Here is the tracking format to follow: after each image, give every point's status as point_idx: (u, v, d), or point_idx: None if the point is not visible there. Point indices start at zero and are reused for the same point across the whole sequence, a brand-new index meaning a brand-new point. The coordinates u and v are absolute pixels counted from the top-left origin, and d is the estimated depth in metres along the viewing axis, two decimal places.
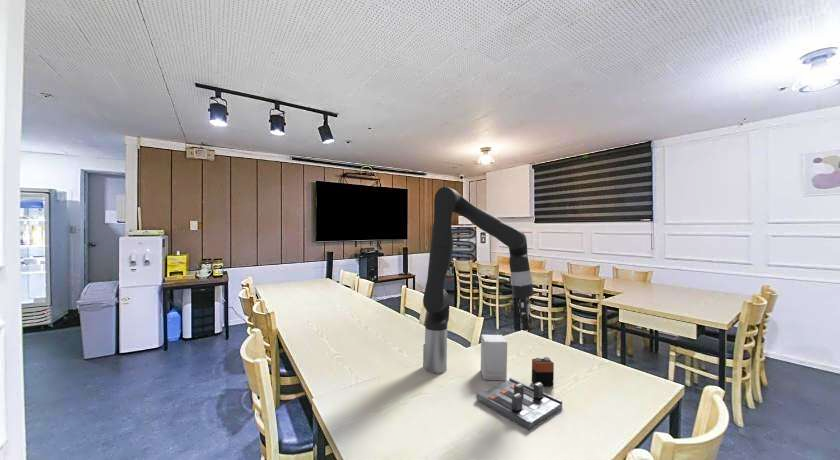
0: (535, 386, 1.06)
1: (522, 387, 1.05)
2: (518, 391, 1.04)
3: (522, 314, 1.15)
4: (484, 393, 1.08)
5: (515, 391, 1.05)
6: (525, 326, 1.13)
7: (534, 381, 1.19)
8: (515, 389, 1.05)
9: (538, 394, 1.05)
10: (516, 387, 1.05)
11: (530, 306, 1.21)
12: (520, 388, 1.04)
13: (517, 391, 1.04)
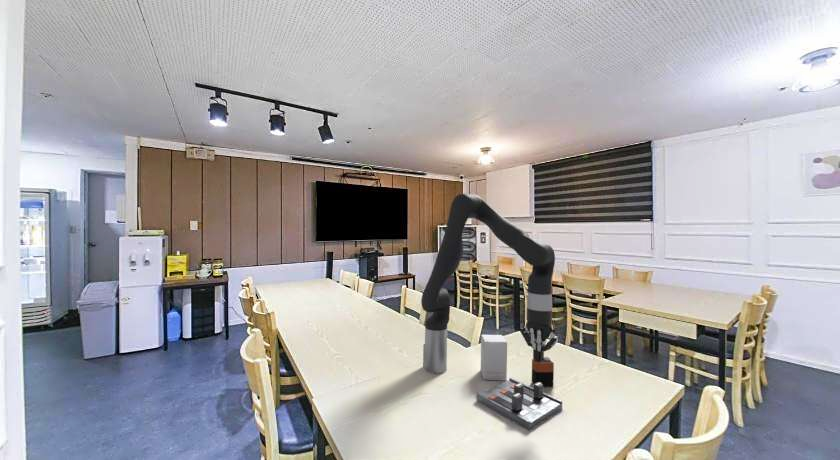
0: (535, 386, 1.06)
1: (522, 387, 1.05)
2: (518, 391, 1.04)
3: None
4: (484, 393, 1.08)
5: (515, 391, 1.05)
6: None
7: (534, 381, 1.19)
8: (515, 389, 1.05)
9: (538, 394, 1.05)
10: (516, 387, 1.05)
11: None
12: (520, 388, 1.04)
13: (517, 391, 1.04)
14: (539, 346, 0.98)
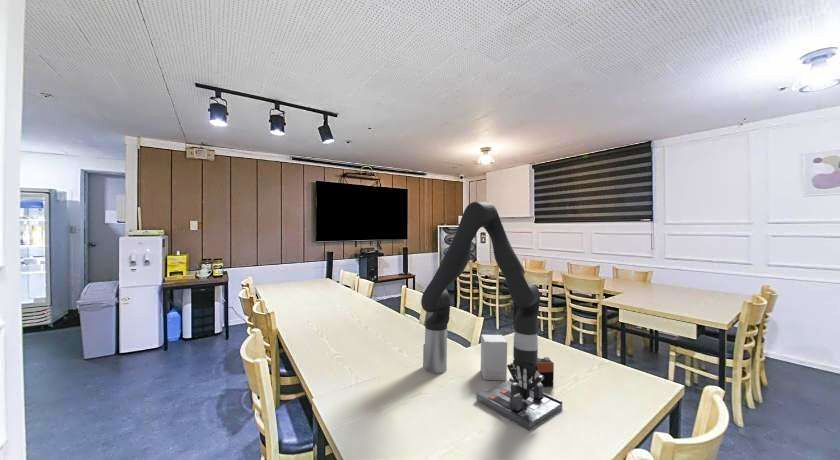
0: None
1: (519, 386, 1.06)
2: (515, 389, 1.05)
3: None
4: (484, 393, 1.08)
5: (512, 390, 1.06)
6: None
7: None
8: (512, 388, 1.06)
9: (538, 394, 1.05)
10: (513, 386, 1.05)
11: None
12: (517, 386, 1.05)
13: (514, 389, 1.05)
14: (525, 384, 1.02)
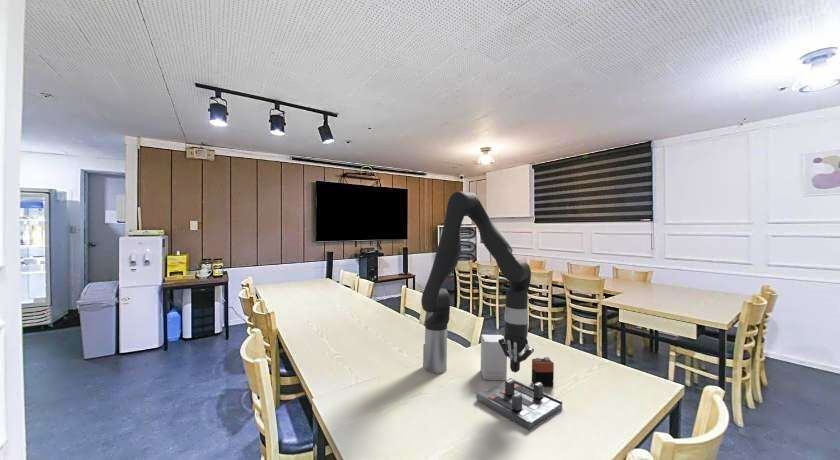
0: (535, 386, 1.06)
1: (513, 383, 1.08)
2: (509, 387, 1.07)
3: None
4: (484, 393, 1.08)
5: (506, 387, 1.08)
6: None
7: (534, 381, 1.19)
8: (506, 385, 1.08)
9: (538, 394, 1.05)
10: (507, 383, 1.07)
11: None
12: (511, 384, 1.07)
13: (508, 387, 1.07)
14: (515, 357, 1.05)
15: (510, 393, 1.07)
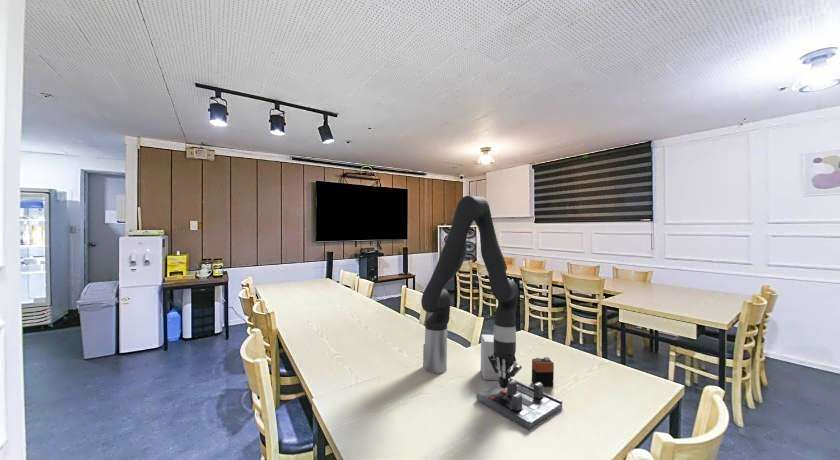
0: (535, 386, 1.06)
1: (515, 384, 1.07)
2: (511, 388, 1.06)
3: None
4: (484, 393, 1.08)
5: (508, 388, 1.07)
6: None
7: (534, 381, 1.19)
8: (508, 386, 1.07)
9: (538, 394, 1.05)
10: (509, 384, 1.07)
11: None
12: (513, 385, 1.06)
13: (510, 388, 1.06)
14: (504, 373, 1.08)
15: (512, 394, 1.06)
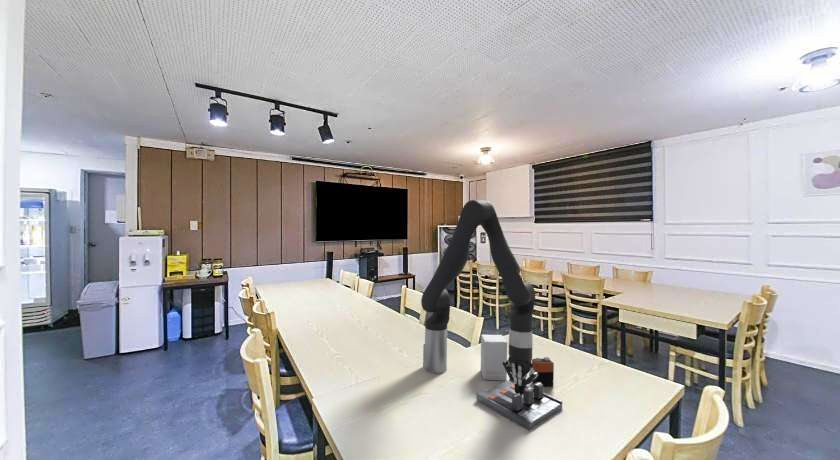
0: (535, 386, 1.06)
1: (532, 391, 1.02)
2: (528, 396, 1.01)
3: None
4: (484, 393, 1.08)
5: (524, 396, 1.02)
6: None
7: (534, 381, 1.19)
8: (524, 393, 1.02)
9: (538, 394, 1.05)
10: (525, 391, 1.02)
11: None
12: (529, 392, 1.01)
13: (527, 396, 1.01)
14: (520, 380, 1.04)
15: (529, 402, 1.01)
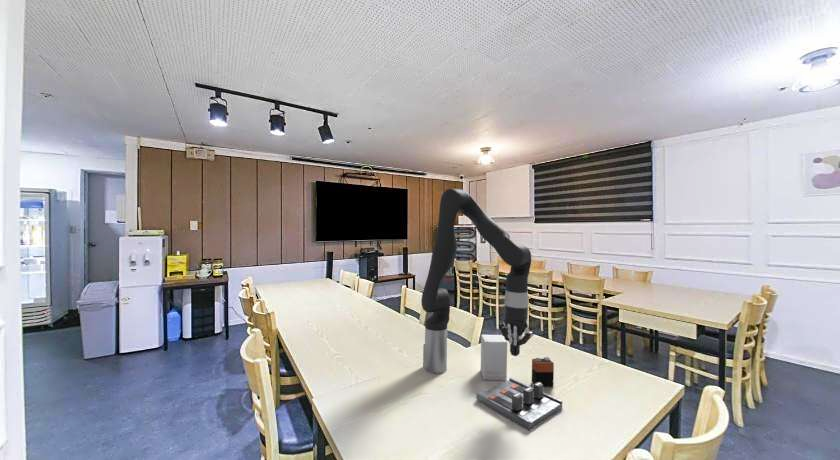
0: (535, 386, 1.06)
1: (532, 391, 1.02)
2: (528, 396, 1.01)
3: None
4: (484, 393, 1.08)
5: (524, 396, 1.02)
6: None
7: (534, 381, 1.19)
8: (524, 393, 1.02)
9: (538, 394, 1.05)
10: (525, 391, 1.02)
11: None
12: (529, 392, 1.01)
13: (527, 396, 1.01)
14: (515, 340, 1.06)
15: (529, 402, 1.01)
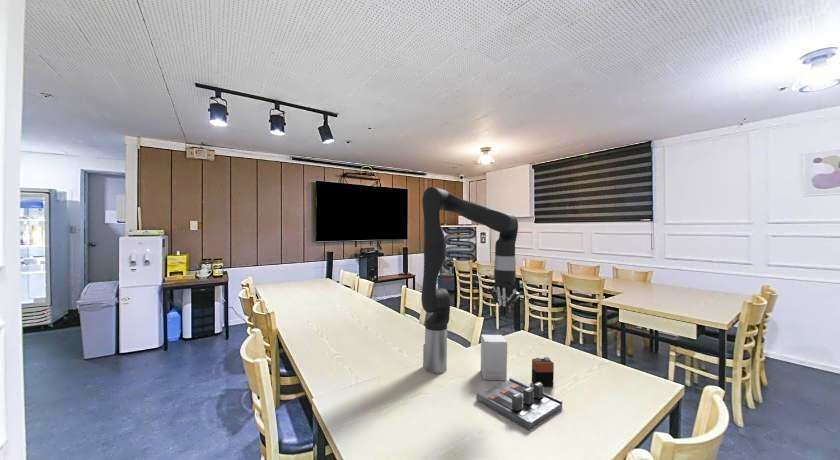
0: (535, 386, 1.06)
1: (532, 391, 1.02)
2: (528, 396, 1.01)
3: None
4: (484, 393, 1.08)
5: (524, 396, 1.02)
6: None
7: (534, 381, 1.19)
8: (524, 393, 1.02)
9: (538, 394, 1.05)
10: (525, 391, 1.02)
11: None
12: (529, 392, 1.01)
13: (527, 396, 1.01)
14: (504, 302, 1.13)
15: (529, 402, 1.01)
